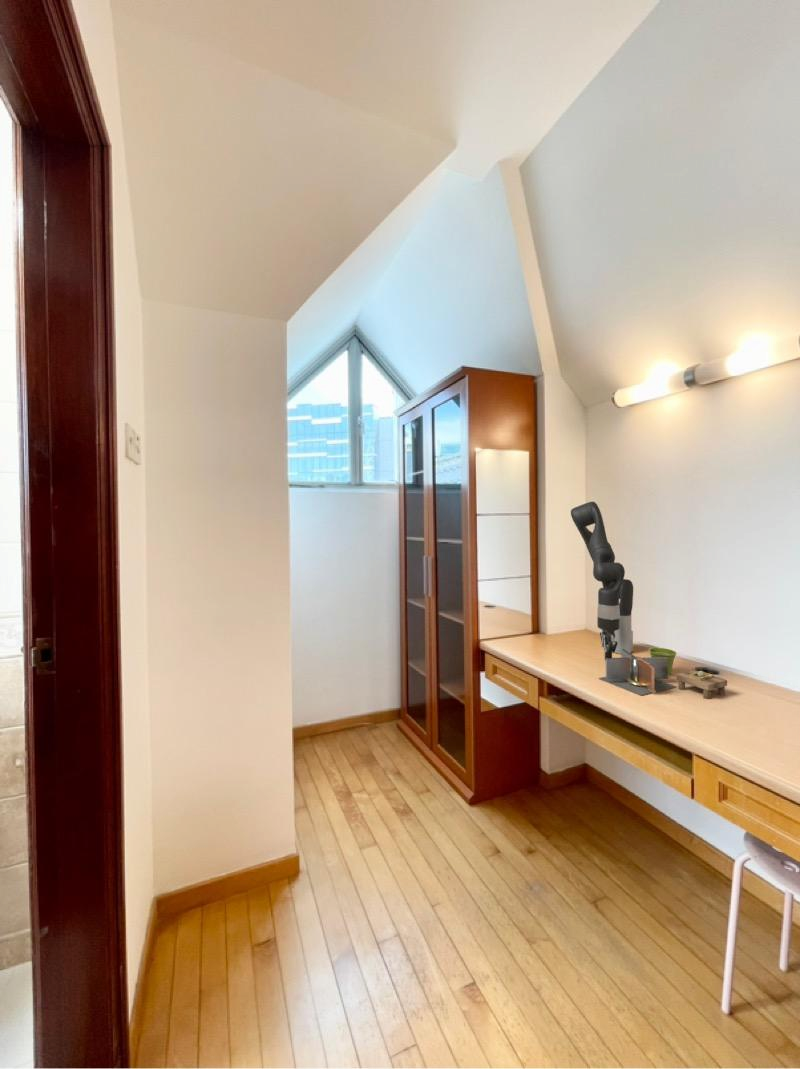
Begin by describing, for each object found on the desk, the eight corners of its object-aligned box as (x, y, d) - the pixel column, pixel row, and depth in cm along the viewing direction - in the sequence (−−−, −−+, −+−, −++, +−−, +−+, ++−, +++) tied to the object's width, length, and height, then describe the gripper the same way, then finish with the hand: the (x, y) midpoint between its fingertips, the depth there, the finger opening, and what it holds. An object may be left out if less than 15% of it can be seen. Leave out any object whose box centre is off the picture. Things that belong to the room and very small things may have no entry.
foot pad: (632, 671, 174) (632, 669, 173) (678, 687, 156) (678, 685, 156) (598, 678, 166) (598, 676, 166) (642, 696, 149) (642, 694, 149)
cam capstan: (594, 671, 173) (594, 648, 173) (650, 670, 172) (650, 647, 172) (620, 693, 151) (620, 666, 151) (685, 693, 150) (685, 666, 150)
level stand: (694, 683, 160) (694, 664, 160) (727, 694, 150) (727, 673, 150) (676, 688, 156) (676, 668, 156) (708, 699, 146) (708, 678, 146)
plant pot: (681, 677, 167) (681, 654, 166) (656, 677, 167) (656, 654, 167) (668, 669, 176) (668, 647, 176) (644, 668, 177) (644, 647, 176)
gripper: (592, 611, 170) (592, 655, 171) (603, 620, 157) (603, 667, 158) (613, 611, 169) (613, 655, 170) (625, 620, 156) (625, 668, 157)
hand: (608, 661), depth 164 cm, fingers closed
